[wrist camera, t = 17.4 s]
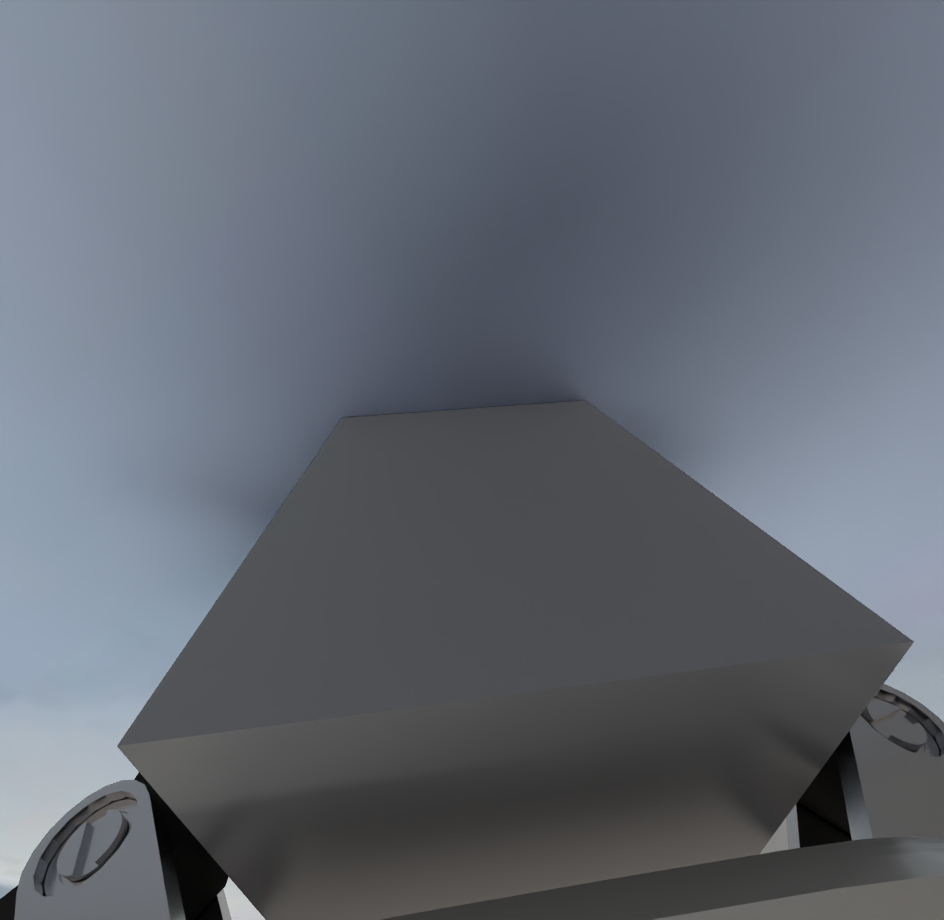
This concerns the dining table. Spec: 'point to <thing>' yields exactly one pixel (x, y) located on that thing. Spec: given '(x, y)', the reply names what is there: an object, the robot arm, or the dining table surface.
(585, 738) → the grey cubic block
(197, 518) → the dining table surface
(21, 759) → the dining table surface
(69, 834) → the robot arm
